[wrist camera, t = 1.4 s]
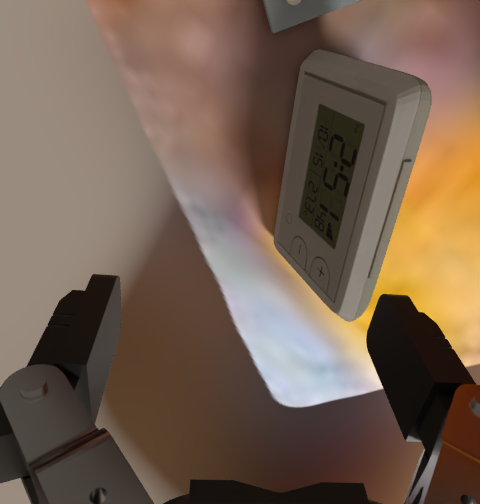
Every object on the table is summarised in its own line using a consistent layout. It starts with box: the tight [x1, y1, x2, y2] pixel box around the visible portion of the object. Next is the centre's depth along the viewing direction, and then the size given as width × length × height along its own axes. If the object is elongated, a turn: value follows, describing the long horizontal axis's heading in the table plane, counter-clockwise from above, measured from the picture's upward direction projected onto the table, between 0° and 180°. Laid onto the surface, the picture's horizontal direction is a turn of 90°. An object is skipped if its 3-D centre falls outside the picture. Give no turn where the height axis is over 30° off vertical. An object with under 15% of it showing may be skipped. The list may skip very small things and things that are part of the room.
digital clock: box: [274, 49, 432, 322], centre depth 30 cm, size 16×9×11 cm, turn 163°
